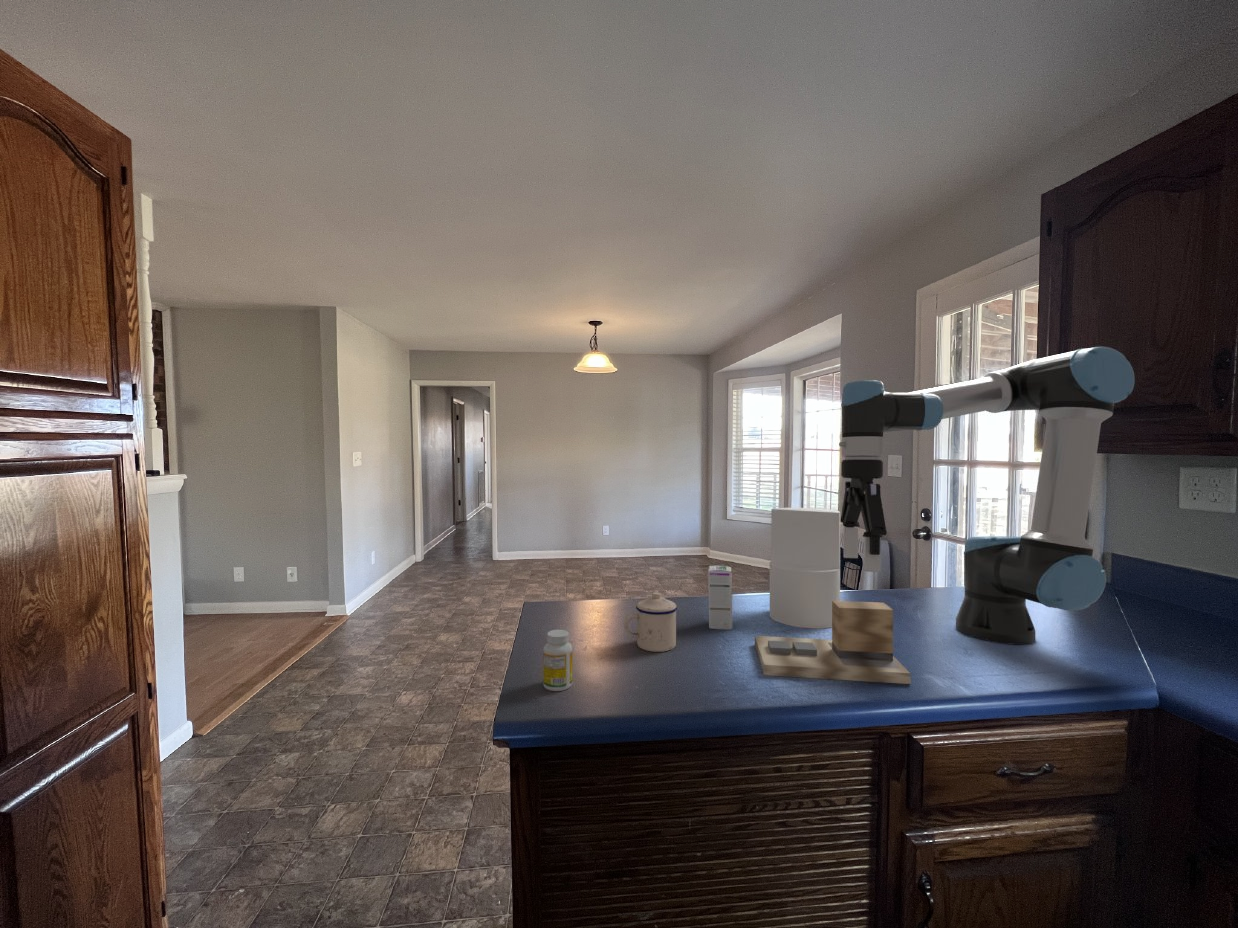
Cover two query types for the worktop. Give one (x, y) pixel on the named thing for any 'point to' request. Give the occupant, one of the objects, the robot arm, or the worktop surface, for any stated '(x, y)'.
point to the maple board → (827, 663)
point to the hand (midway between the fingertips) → (860, 564)
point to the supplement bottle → (557, 661)
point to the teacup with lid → (654, 624)
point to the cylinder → (804, 566)
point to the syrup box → (720, 597)
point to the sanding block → (862, 630)
